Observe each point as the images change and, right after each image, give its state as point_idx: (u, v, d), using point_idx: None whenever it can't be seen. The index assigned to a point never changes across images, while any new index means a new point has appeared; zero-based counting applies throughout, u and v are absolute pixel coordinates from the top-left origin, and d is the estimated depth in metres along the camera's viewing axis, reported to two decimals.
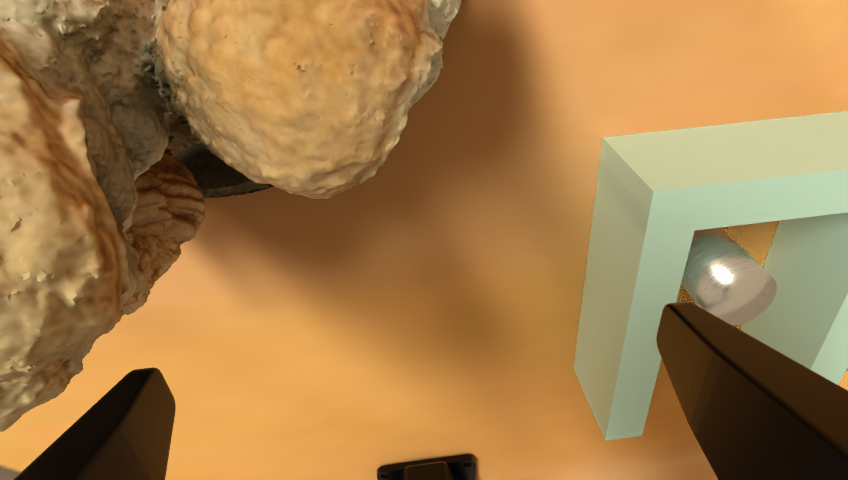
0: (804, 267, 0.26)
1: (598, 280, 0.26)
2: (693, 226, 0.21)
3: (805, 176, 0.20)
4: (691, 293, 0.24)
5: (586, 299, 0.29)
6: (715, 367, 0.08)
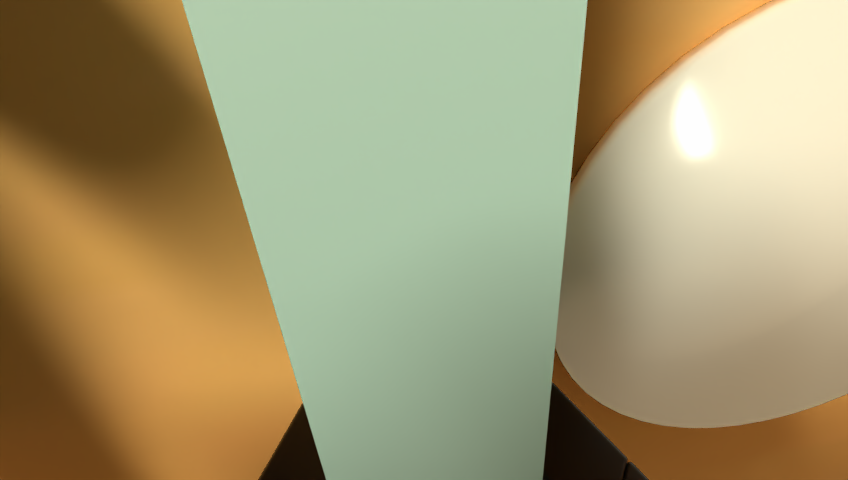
0: None
1: None
2: None
3: None
4: None
5: None
6: None
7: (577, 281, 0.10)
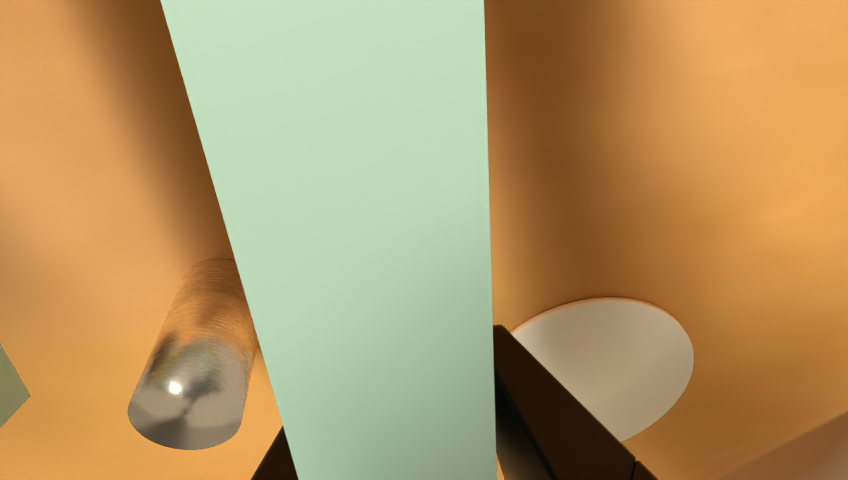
0: None
1: None
2: None
3: None
4: None
5: None
6: (499, 396, 0.08)
7: None
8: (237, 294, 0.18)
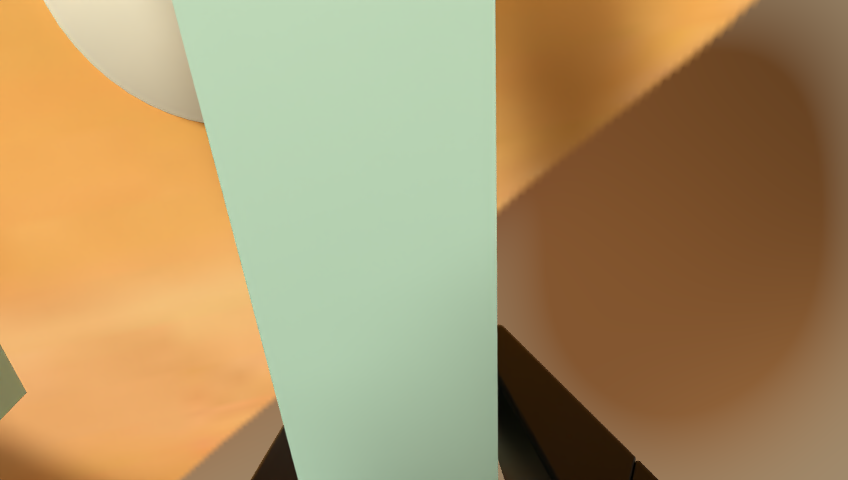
0: None
1: None
2: None
3: None
4: None
5: None
6: (498, 395, 0.08)
7: None
8: None
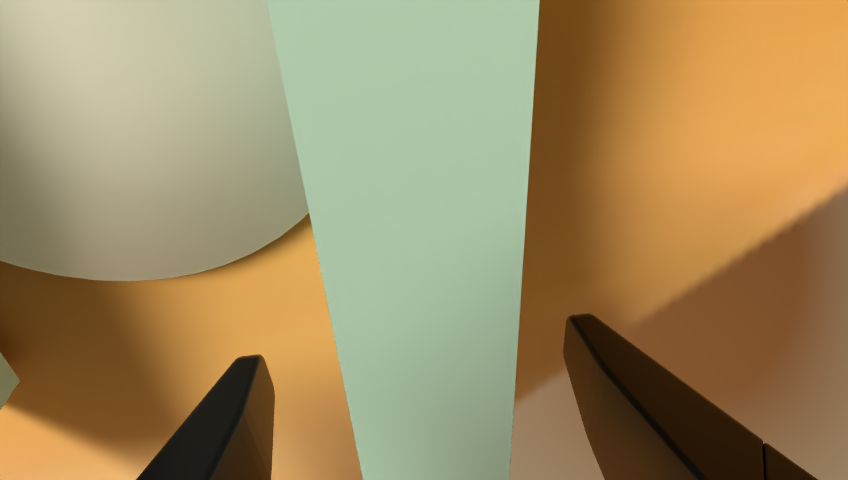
0: None
1: None
2: None
3: None
4: None
5: None
6: (602, 382, 0.08)
7: None
8: None
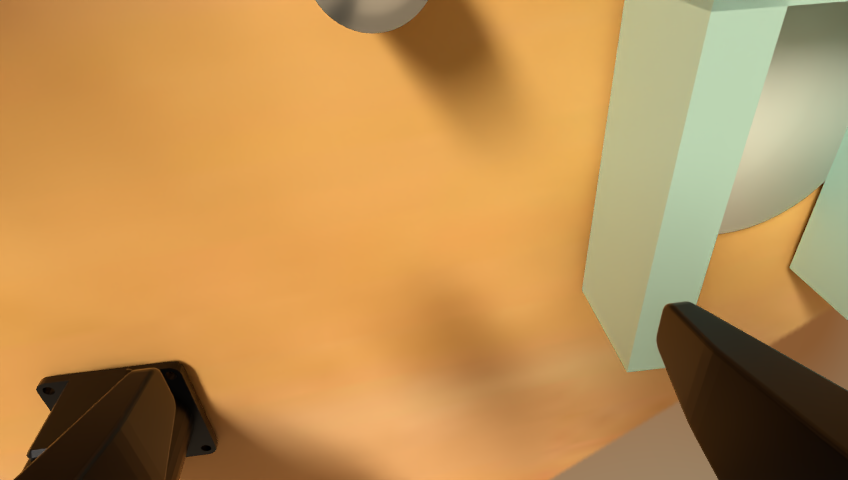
0: None
1: (624, 139, 0.19)
2: None
3: None
4: None
5: (604, 179, 0.21)
6: (715, 367, 0.08)
7: None
8: None
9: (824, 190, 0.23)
